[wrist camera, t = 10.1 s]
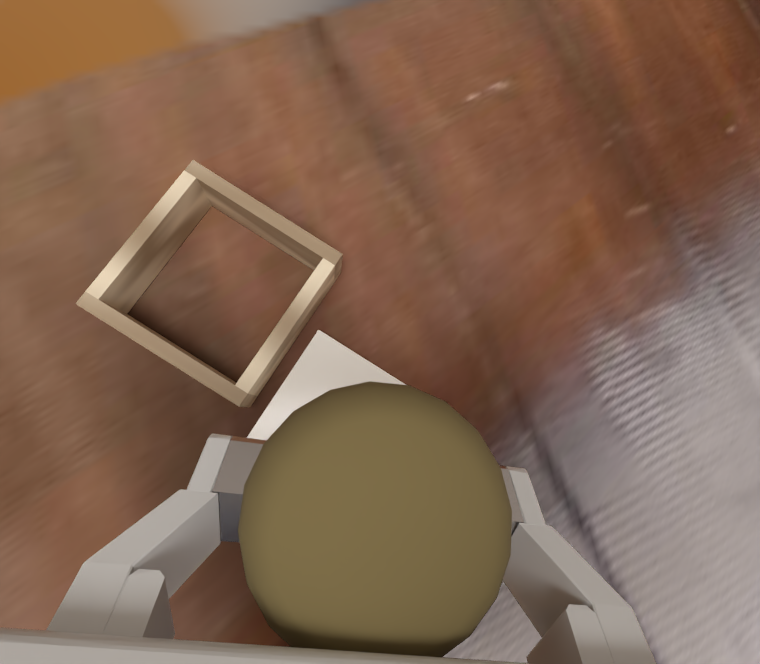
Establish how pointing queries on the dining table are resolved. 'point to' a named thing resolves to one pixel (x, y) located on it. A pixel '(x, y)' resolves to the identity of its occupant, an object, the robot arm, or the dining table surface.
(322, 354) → the ceramic tile
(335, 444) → the cork
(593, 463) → the dining table surface
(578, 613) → the robot arm
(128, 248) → the frame
